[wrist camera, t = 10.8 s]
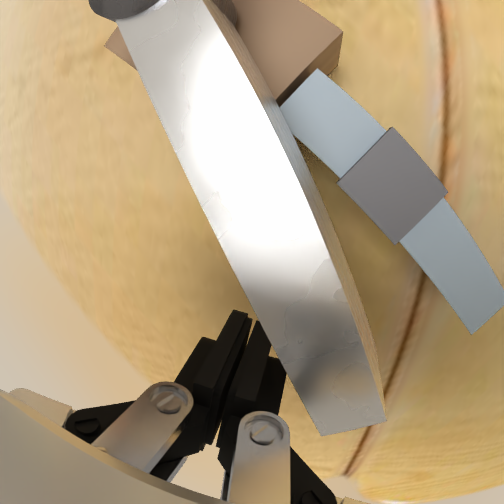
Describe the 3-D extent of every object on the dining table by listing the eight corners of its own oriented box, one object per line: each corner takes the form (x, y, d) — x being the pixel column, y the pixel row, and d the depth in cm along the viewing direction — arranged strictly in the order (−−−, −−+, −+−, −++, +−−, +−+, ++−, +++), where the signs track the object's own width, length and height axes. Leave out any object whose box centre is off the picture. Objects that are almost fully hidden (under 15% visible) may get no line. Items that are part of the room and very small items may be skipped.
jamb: (337, 65, 13) (343, 31, 8) (260, 147, 15) (232, 147, 11) (223, -11, 12) (189, -53, 8) (157, 64, 15) (103, 45, 10)
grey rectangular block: (471, 257, 14) (515, 301, 9) (438, 289, 15) (471, 342, 10) (322, 89, 14) (320, 61, 9) (285, 128, 15) (266, 119, 10)
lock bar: (383, 336, 11) (400, 422, 7) (317, 357, 12) (308, 443, 8) (217, -21, 8) (164, -82, 4) (154, 17, 9) (80, -22, 5)
